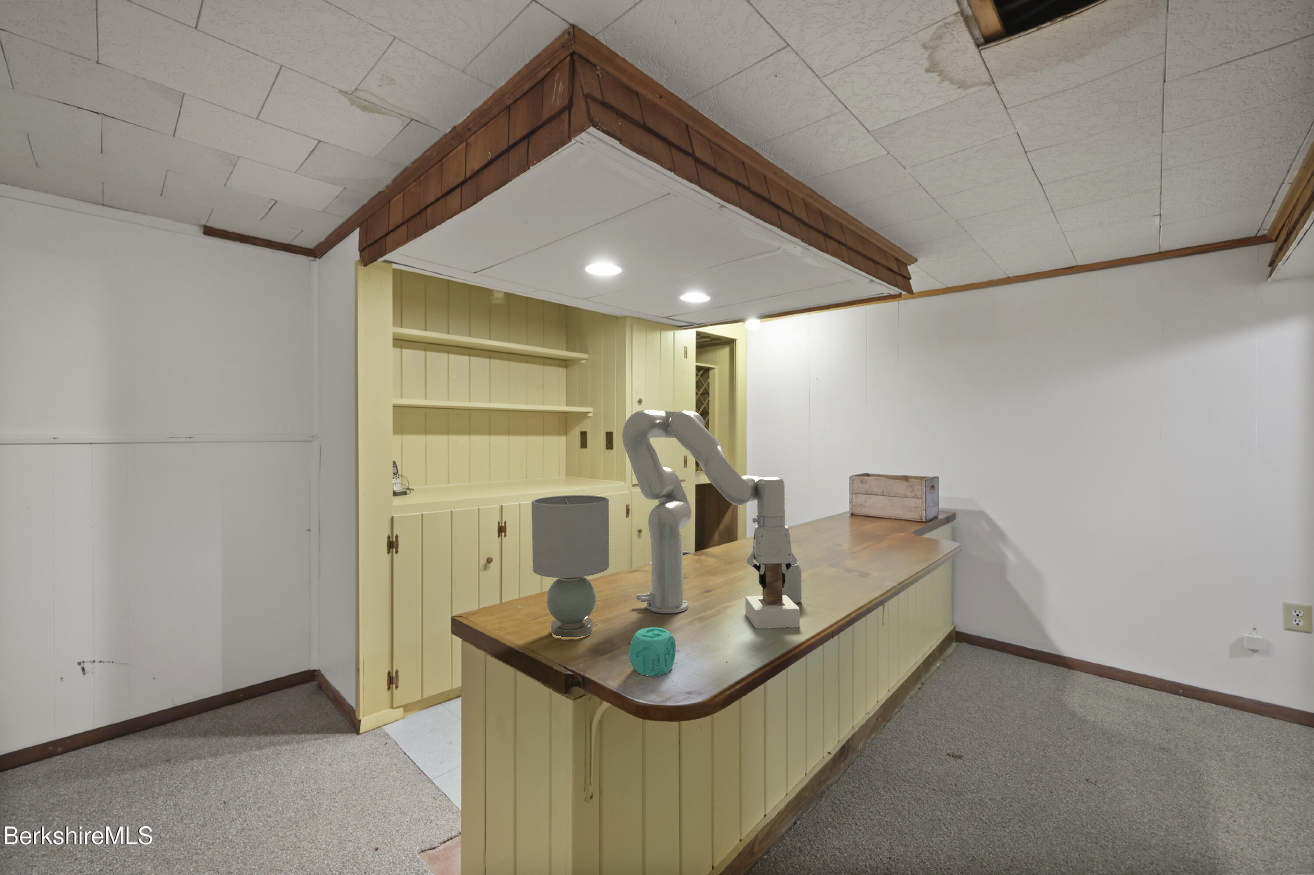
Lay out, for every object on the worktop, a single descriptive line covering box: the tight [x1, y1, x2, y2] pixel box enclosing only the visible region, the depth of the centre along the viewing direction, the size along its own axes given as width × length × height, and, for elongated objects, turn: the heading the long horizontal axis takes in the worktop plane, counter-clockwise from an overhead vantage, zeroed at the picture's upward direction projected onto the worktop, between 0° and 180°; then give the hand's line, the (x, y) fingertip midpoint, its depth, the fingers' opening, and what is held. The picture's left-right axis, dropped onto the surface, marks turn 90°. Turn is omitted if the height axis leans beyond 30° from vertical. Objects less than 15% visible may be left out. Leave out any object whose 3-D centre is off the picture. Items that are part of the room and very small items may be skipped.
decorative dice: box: [628, 627, 677, 677], centre depth 123 cm, size 8×8×8 cm
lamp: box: [531, 494, 610, 637], centre depth 146 cm, size 20×20×35 cm
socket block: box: [744, 595, 801, 629], centre depth 154 cm, size 12×12×5 cm
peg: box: [761, 564, 783, 605], centre depth 154 cm, size 4×4×12 cm
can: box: [782, 561, 803, 605], centre depth 170 cm, size 8×8×12 cm
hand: (772, 586), depth 154 cm, fingers closed on peg, 4 cm apart
